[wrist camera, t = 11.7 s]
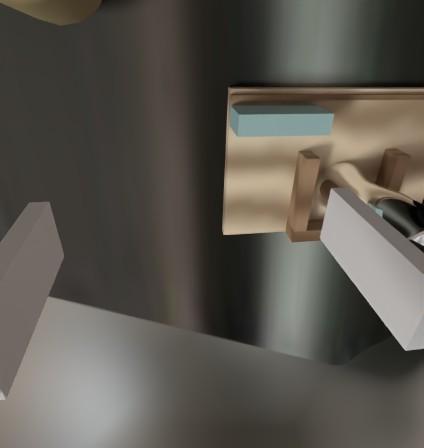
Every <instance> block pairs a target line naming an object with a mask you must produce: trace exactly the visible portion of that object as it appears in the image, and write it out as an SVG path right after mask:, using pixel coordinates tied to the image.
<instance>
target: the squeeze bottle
mask: <svg viewBox="0 0 424 448" xmlns="http://www.w3.org/2000/svg"><path fill="white" fill-rule="evenodd" d="M101 2H102V0H0V3H3V4H5V5H7V6H10V7H12V8H14V9H16V10H19V11H21V12H23V13H26V14H28V15H30V16H32V17H35V18H37V19H40V20H43V21H47V22H50V23H54V24H58V25H66V24H73V23H79V22H82V21H83V20H85V19H86V18H87V17H89V16H90V15H91V14H93V13H94V12H95V11H97V10H98V8H99V6H100V4H101Z"/></svg>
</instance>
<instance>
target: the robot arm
mask: <svg viewBox="0 0 424 448" xmlns="http://www.w3.org/2000/svg"><path fill="white" fill-rule="evenodd" d="M320 239H321V241H322V242H323V243H324V245H325V246H326V247H327V249H328V250H329V251H330V252H331V254H332V255H333V256H334V258H335V259H336V260H337V262H338V263H339V264H340V266H341V267H342V268H343V270H344V271H345V272H346V273H347V275H348V276H349V277H350V279H351V280H352V281H353V283H354V284H355V285H356V287H357V288H358V289H359V290H360V292H361V293H362V294H363V296H364V297H365V298H366V300H367V301H368V302H369V304H370V305H371V306H372V308H373V309H374V310H375V311H376V313H377V314H378V315H379V317H380V318H381V319H382V321H383V322H384V323H385V325H386V326H387V327H388V328H389V330H390V331H391V332H392V334H393V335H394V336H395V338H396V339H397V340H398V341H399V343H400V344H401V346H402V347H403V348H404V349H405V351H406V350H414V349H423V348H424V246H423V245H421V244H419V243H417V242H415V241H413V240H411V239H409V240H408V239H407V238H406V237H404V236H403V235H402V234H401V233H400V232H399V231H397V230H396V229H395V228H394V227H393V226H391V225H390V224H389V223H388V222H387V221H386V220H384V219H383V218H382V217H381V216H380V215H379V214H377V213H376V212H375V211H374V210H373V209H372V208H370V207H369V206H368V205H367V204H366V203H365V202H363V201H362V200H361V199H360V198H359V197H358V196H356V195H355V194H354V193H353V192H352V191H350V190H349V189H348V188H347V187H344V188H331V191H330V195H329V200H328V204H327V208H326V213H325V217H324V221H323V226H322V230H321V234H320ZM63 258H64V254H63V250H62V246H61V243H60V239H59V236H58V232H57V228H56V225H55V221H54V218H53V214H52V210H51V207H50V203H49V202H36V203H29V204H28V205H27V207H26V208H25V209H24V211H23V212H22V213H21V215H20V216H19V218H18V219H17V220H16V222H15V223H14V224H13V226H12V227H11V229H10V230H9V231H8V233H7V234H6V235H5V237H4V238H3V240H2V241H1V242H0V400H5V399H6V398H7V396H8V393H9V391H10V388H11V386H12V383H13V381H14V379H15V376H16V374H17V371H18V369H19V366H20V364H21V361H22V359H23V356H24V354H25V351H26V349H27V346H28V344H29V341H30V339H31V337H32V334H33V332H34V329H35V327H36V324H37V322H38V319H39V317H40V314H41V312H42V309H43V307H44V304H45V302H46V300H47V297H48V295H49V292H50V290H51V287H52V285H53V282H54V280H55V277H56V275H57V273H58V270H59V268H60V265H61V263H62V260H63Z"/></svg>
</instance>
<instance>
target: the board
mask: <svg viewBox="0 0 424 448" xmlns="http://www.w3.org/2000/svg"><path fill="white" fill-rule="evenodd" d="M236 105H318V106H320V107H322V108H324V109H326V110H328V111H330V112H332V113H334V118H333V123H332V128H331V132H330V135H318V136H267V137H237V136H236V134H235V133H234V131H233V130H232V129H231V127H230V107H231V106H236ZM341 162H350V163H353V164H356V165H357V166H358V167H360V168H361V169H362V171H363V172H364V173H365V174H366V176H367V177H368V178H369V179H370V180H372V181H373V182H376V183H378V184H380V185H383V186H386V187H388V188H391V189H394V190H396V191H399V192H401V193H403V194H405V195H407V196H409V197H411V198H413V199H415V200H416V201H418V202H420V203H421V204H422V201H423V199H424V87H229V88H228V111H227V134H226V157H225V180H224V203H223V226H222V230H223V234H224V235H231V234H248V233H265V232H282V231H286V233H287V234H288V236H289V238H290V239H291V241H292V242H304V241H319V240H321V239H320V234H321V230H322V226H323V221H324V217H325V213H326V208H324V207H323V206H321V205H320V204H319V203H318V201H317V199H316V197H315V186H316V183H317V180H318V179H319V177H320V176H321V174H322V173H323V172H324V171H325V170H326V169H328V168H329V167H331V166H332V165H335V164H337V163H341Z"/></svg>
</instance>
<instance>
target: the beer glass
mask: <svg viewBox="0 0 424 448" xmlns="http://www.w3.org/2000/svg"><path fill="white" fill-rule="evenodd" d="M344 187H347V188H348V189H349V190H350V191H352V192H353V193H354V194H355V195H356V196H358V197H359V198H360V199H361V200H362V201H363V202H365V203H366V204H367V205H368V206H369V207H370V208H372V209H373V210H374V211H375V212H376V213H377V214H379V215H380V216H381V217H382V218H383V219H384V220H386V221H387V222H388V223H389V224H390V225H391V226H393V227H394V228H395V229H396V230H397V231H399V232H400V233H401V234H402V235H403V236H404V237H406V238H407V239H408V240H409V239H411V240H413V241H415V242H417V243H419V244H421V245H423V246H424V205H423V204H421V203H420V202H418V201H416V200H415V199H413V198H411V197H409V196H407V195H405V194H403V193H401V192H399V191H396V190H394V189H391V188H388V187H386V186H383V185H380V184H378V183H376V182H373V181H372V180H370V179H369V178H368V177H367V176H366V174H365V173H364V172H363V171H362V169H361V168H360V167H358V166H357V165H356V164H353V163H350V162H341V163H337V164H335V165H332V166H331V167H329V168H328V169H326V170H325V171H324V172H323V173H322V174H321V176H320V177H319V179H318V180H317V183H316V186H315V197H316V199H317V201H318V203H319V204H320V205H321V206H323V207H324V208H327V204H328V200H329V195H330V191H331V188H344Z"/></svg>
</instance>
